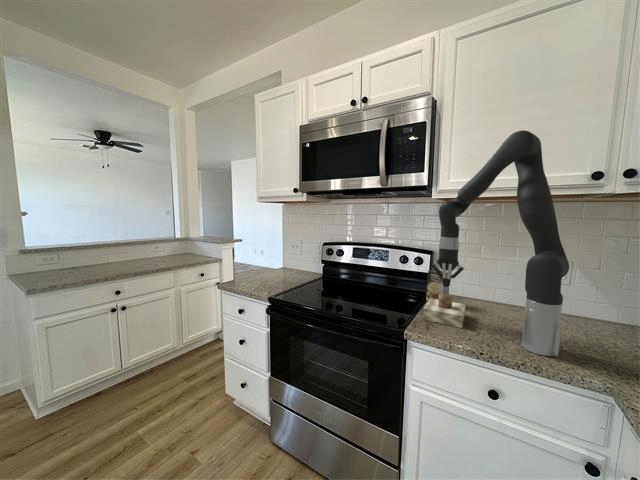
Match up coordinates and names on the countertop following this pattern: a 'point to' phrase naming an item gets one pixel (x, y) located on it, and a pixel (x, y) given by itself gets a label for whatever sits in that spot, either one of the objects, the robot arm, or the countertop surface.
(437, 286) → the coffee box
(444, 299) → the walnut peg
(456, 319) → the birch block
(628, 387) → the countertop surface
